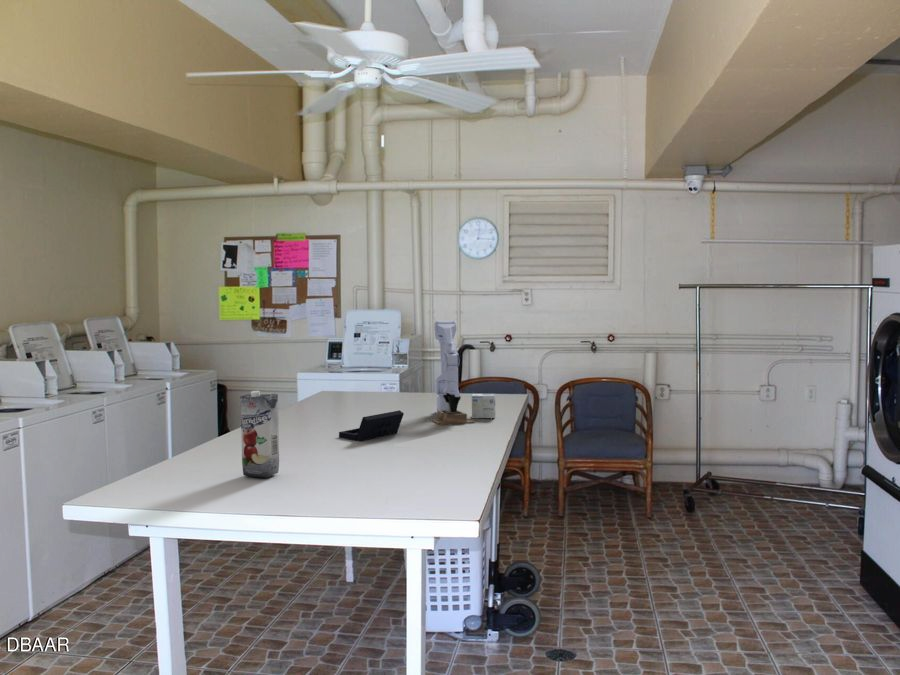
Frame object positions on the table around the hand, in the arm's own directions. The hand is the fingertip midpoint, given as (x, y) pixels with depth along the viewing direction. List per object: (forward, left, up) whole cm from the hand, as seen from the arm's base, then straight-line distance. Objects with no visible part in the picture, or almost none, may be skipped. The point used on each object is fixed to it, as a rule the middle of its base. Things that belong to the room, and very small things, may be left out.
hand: (451, 411), depth 328 cm
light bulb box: (-4, +17, -5) cm, 18 cm away
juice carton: (+67, -90, -5) cm, 112 cm away
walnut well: (0, 0, -5) cm, 5 cm away
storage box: (+19, -41, -5) cm, 46 cm away
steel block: (0, 0, -3) cm, 3 cm away
